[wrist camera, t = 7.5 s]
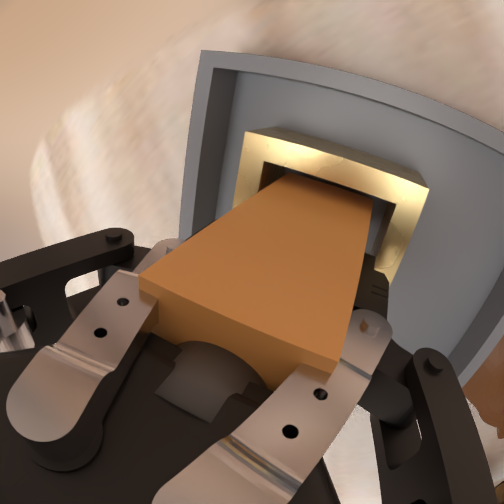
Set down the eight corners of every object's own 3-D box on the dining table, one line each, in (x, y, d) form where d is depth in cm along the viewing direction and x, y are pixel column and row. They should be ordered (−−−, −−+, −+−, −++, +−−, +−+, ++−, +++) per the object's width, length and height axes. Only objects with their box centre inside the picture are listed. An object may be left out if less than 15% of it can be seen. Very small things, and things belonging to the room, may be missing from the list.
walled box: (547, 166, 10) (578, 181, 7) (431, 382, 18) (430, 420, 15) (235, 58, 15) (201, 50, 12) (201, 293, 23) (174, 320, 20)
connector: (373, 199, 13) (315, 435, 4) (346, 274, 15) (258, 501, 6) (289, 172, 14) (83, 316, 5) (272, 247, 16) (116, 425, 7)
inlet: (419, 172, 13) (429, 189, 10) (369, 298, 17) (362, 338, 14) (274, 126, 15) (245, 131, 12) (249, 253, 19) (220, 282, 16)
